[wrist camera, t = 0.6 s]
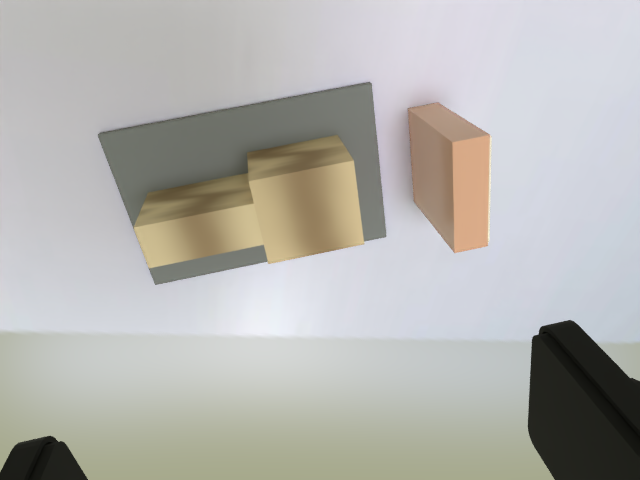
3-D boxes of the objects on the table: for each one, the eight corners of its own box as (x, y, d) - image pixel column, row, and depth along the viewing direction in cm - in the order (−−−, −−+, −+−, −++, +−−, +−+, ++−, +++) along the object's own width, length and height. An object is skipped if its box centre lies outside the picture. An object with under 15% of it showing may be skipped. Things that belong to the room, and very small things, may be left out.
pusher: (167, 246, 40) (156, 287, 34) (141, 173, 36) (124, 205, 31) (347, 209, 40) (364, 244, 35) (337, 134, 37) (353, 160, 32)
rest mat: (156, 281, 42) (155, 284, 41) (99, 133, 35) (97, 135, 35) (384, 233, 43) (386, 236, 42) (369, 82, 36) (371, 83, 36)
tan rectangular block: (413, 201, 42) (454, 253, 34) (407, 108, 38) (452, 142, 30) (443, 195, 42) (490, 245, 34) (440, 102, 38) (493, 134, 30)
